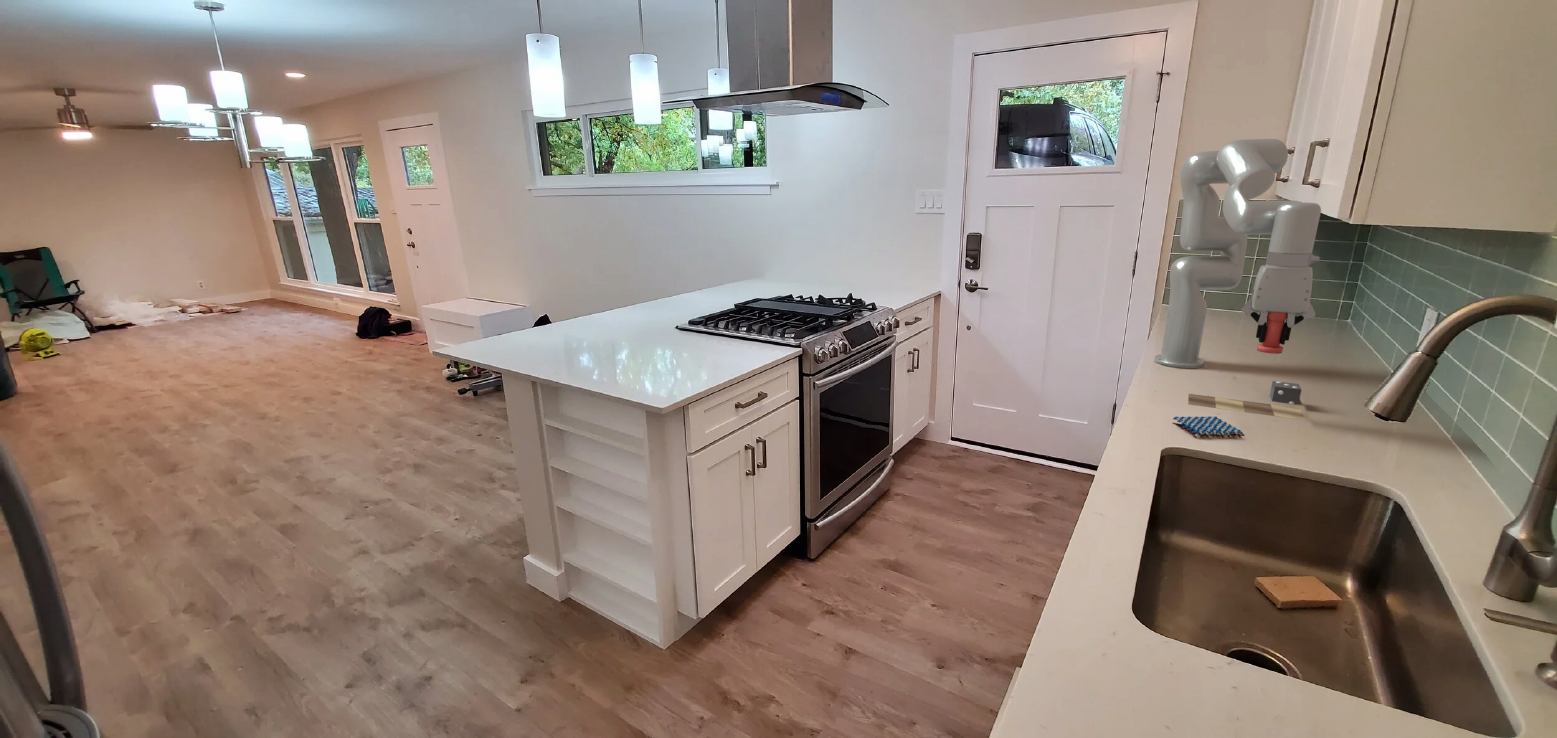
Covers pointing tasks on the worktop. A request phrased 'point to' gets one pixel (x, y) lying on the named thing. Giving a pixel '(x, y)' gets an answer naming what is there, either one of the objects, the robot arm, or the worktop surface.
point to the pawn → (1273, 333)
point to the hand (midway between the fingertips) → (1271, 341)
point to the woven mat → (1207, 428)
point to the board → (1246, 406)
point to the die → (1285, 392)
